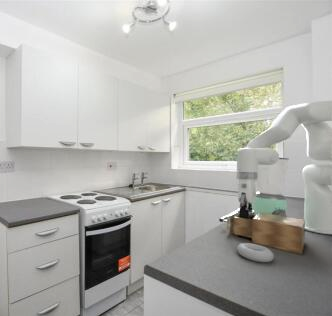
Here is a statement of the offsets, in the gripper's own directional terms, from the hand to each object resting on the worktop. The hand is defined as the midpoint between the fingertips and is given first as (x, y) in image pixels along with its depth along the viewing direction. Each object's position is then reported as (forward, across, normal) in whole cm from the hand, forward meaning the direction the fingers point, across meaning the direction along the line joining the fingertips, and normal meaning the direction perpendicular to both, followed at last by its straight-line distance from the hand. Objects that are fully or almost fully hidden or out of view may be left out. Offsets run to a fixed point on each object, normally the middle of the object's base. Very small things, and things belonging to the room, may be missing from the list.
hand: (245, 217), depth 96 cm
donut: (+8, -23, -8) cm, 26 cm away
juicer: (+8, +22, -4) cm, 24 cm away
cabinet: (+8, 0, -11) cm, 14 cm away
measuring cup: (+6, 0, 0) cm, 6 cm away
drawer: (+7, 0, +1) cm, 7 cm away
